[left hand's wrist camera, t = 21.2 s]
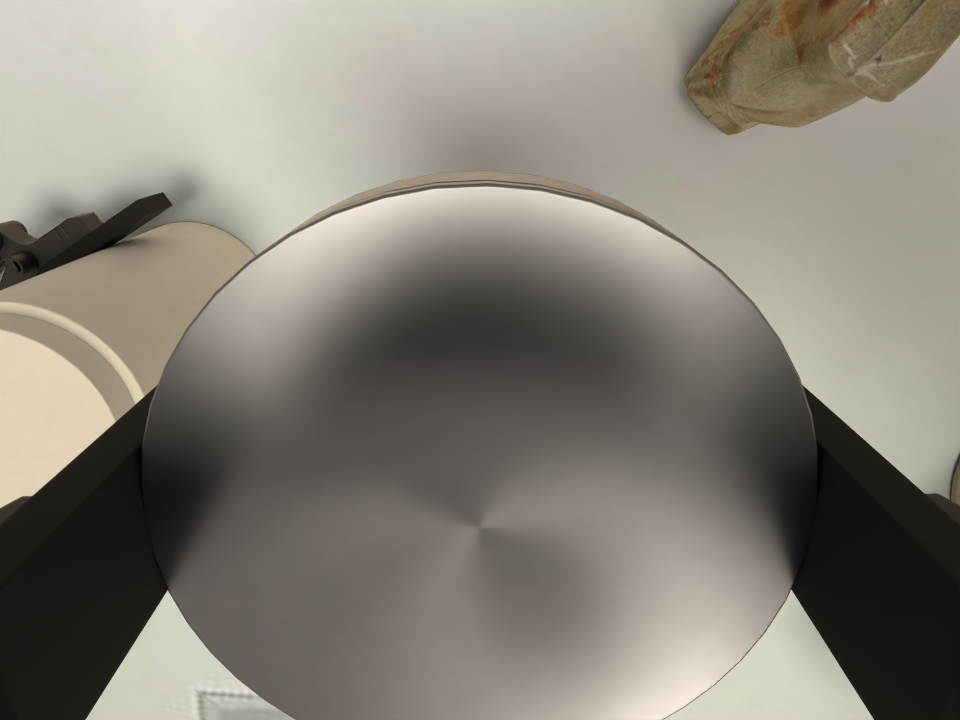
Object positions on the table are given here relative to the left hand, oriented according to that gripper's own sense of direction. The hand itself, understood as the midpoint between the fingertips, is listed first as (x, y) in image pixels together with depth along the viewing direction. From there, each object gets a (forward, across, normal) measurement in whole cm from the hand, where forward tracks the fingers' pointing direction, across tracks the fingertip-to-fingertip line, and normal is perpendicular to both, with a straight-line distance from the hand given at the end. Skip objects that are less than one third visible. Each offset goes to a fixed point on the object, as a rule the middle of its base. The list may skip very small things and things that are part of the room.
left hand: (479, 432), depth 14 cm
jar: (+28, +17, +5) cm, 33 cm away
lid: (-3, 0, 0) cm, 3 cm away
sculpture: (+28, -14, -8) cm, 32 cm away
